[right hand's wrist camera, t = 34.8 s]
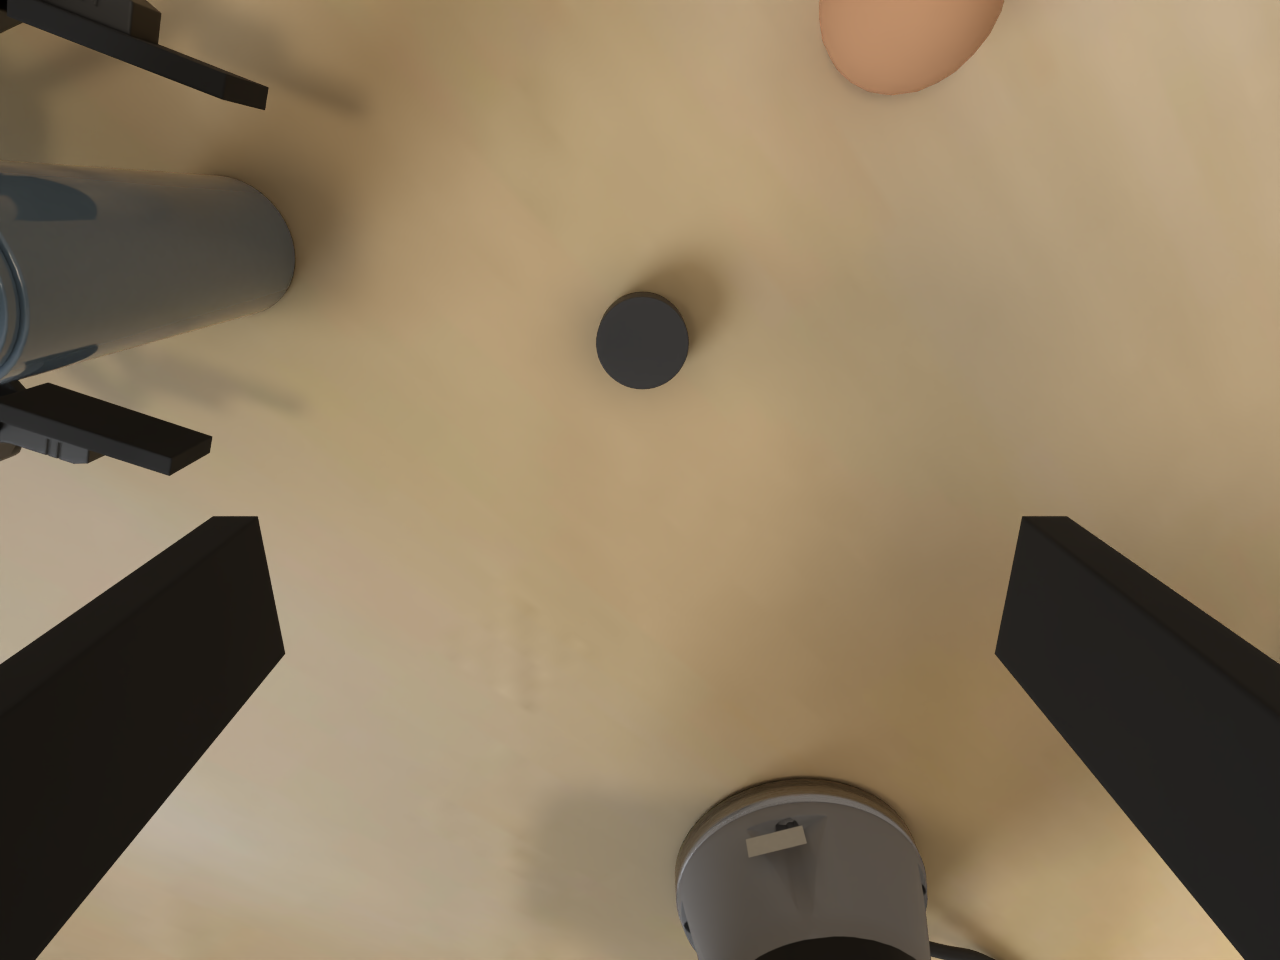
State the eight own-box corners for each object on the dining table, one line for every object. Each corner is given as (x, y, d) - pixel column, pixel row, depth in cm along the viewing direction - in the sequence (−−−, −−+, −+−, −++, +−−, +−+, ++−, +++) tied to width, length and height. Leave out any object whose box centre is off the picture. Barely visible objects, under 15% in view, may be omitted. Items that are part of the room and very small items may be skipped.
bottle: (131, 218, 31) (-567, 237, 13) (237, 148, 30) (-363, 63, 12) (220, 337, 33) (-285, 496, 15) (322, 275, 32) (-88, 365, 14)
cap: (686, 378, 34) (688, 388, 32) (600, 380, 34) (598, 390, 32) (686, 290, 32) (688, 295, 31) (596, 292, 33) (594, 297, 31)
